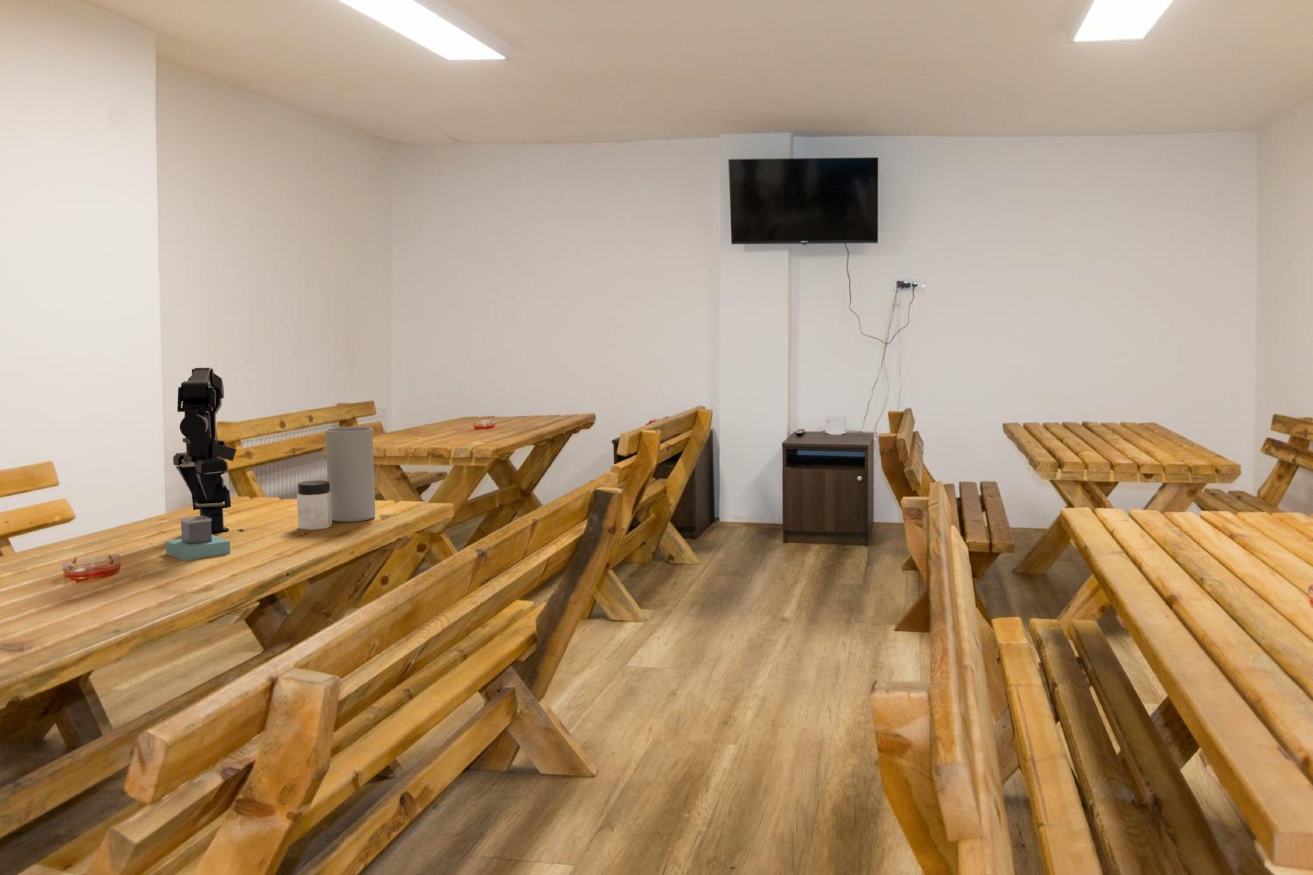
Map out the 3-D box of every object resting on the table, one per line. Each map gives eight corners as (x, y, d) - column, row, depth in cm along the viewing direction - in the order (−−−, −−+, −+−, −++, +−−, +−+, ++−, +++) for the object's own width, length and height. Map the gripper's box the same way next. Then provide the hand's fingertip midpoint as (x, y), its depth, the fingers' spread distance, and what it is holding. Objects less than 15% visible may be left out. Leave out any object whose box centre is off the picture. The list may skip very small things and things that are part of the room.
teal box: (166, 555, 262) (165, 540, 262) (212, 548, 270) (211, 534, 270) (183, 562, 255) (182, 548, 254) (230, 555, 262) (229, 541, 262)
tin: (181, 541, 262) (180, 518, 261) (204, 538, 265) (203, 515, 265) (189, 544, 258) (188, 521, 257) (212, 541, 261) (211, 518, 261)
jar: (302, 531, 287) (301, 486, 286) (294, 526, 294) (292, 482, 293) (336, 527, 292) (335, 483, 291) (327, 522, 299) (325, 479, 298)
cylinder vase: (383, 515, 310) (380, 427, 307) (361, 523, 298) (358, 432, 295) (343, 513, 313) (340, 426, 310) (320, 521, 300) (316, 431, 298)
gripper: (247, 434, 263) (250, 498, 265) (215, 427, 276) (219, 488, 279) (200, 438, 255) (204, 504, 258) (170, 431, 269) (174, 493, 271)
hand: (201, 497), depth 266 cm, fingers open, 9 cm apart
